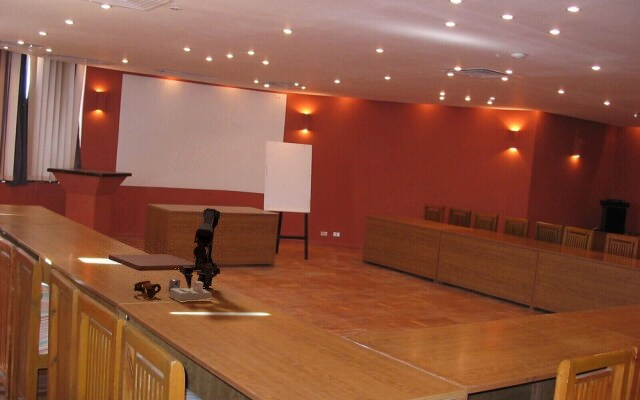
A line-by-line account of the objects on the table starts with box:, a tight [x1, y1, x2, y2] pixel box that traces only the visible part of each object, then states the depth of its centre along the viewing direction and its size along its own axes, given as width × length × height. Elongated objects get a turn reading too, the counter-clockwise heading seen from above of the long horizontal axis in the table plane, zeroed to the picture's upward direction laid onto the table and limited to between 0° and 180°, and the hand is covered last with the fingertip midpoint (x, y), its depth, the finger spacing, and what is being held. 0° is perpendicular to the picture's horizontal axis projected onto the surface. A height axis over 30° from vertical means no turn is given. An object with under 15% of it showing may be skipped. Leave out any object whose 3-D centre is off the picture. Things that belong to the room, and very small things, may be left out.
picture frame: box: [108, 253, 195, 271], centre depth 402 cm, size 40×3×33 cm
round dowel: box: [168, 278, 181, 293], centre depth 332 cm, size 5×5×6 cm
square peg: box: [192, 280, 203, 292], centre depth 324 cm, size 3×3×8 cm
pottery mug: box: [133, 280, 162, 299], centre depth 316 cm, size 12×10×8 cm
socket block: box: [168, 287, 213, 301], centre depth 322 cm, size 16×10×4 cm, turn 130°
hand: (197, 288), depth 324 cm, fingers open, 9 cm apart
